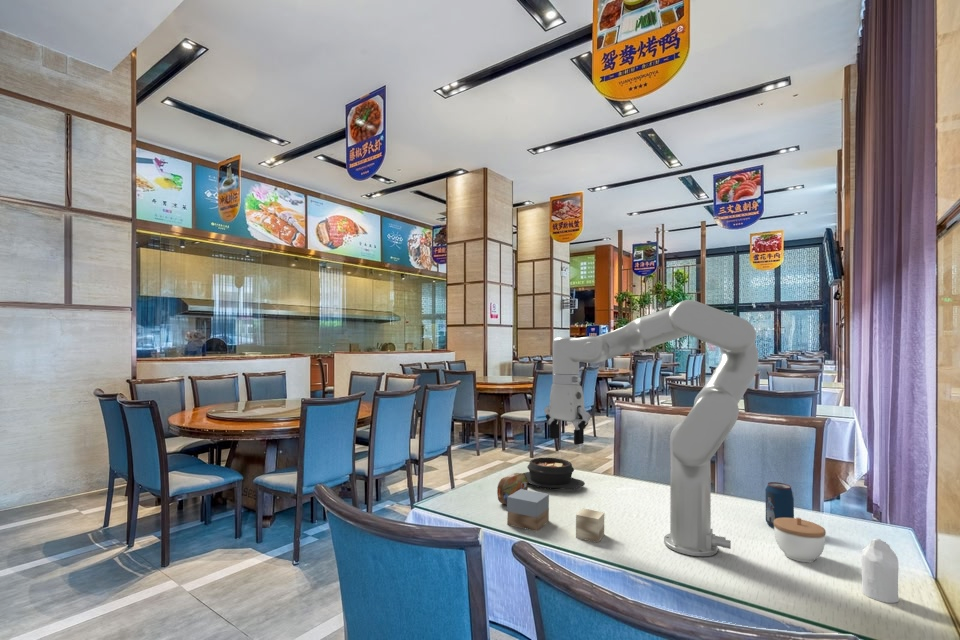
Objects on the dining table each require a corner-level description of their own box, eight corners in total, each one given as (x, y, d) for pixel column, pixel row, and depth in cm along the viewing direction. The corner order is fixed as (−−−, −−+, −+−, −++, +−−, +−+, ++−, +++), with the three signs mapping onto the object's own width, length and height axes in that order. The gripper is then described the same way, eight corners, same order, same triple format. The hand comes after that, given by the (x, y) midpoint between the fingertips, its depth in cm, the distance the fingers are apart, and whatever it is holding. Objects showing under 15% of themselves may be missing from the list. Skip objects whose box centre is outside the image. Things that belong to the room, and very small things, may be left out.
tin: (503, 508, 149) (503, 480, 150) (495, 506, 151) (495, 478, 152) (528, 496, 161) (529, 471, 162) (520, 494, 163) (521, 469, 164)
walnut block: (548, 522, 139) (548, 508, 139) (537, 532, 131) (537, 517, 131) (520, 516, 143) (520, 502, 144) (507, 525, 136) (507, 511, 136)
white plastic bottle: (891, 535, 102) (903, 545, 97) (892, 593, 102) (904, 606, 96) (856, 530, 104) (867, 540, 99) (857, 587, 104) (868, 600, 98)
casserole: (507, 485, 174) (508, 461, 175) (530, 474, 190) (531, 452, 190) (573, 498, 161) (573, 472, 161) (592, 485, 177) (592, 462, 177)
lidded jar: (764, 547, 124) (764, 510, 125) (807, 548, 124) (806, 511, 124) (790, 566, 113) (789, 525, 114) (836, 567, 113) (836, 527, 114)
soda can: (796, 527, 138) (795, 485, 139) (791, 533, 133) (790, 490, 134) (768, 521, 143) (768, 480, 144) (763, 527, 138) (762, 484, 139)
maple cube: (604, 535, 130) (604, 512, 130) (598, 542, 125) (598, 519, 125) (582, 530, 133) (582, 508, 133) (575, 537, 128) (576, 514, 128)
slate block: (548, 508, 139) (548, 494, 139) (536, 517, 131) (536, 502, 132) (520, 502, 144) (520, 488, 144) (507, 511, 136) (507, 496, 136)
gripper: (598, 381, 132) (598, 444, 131) (554, 378, 146) (554, 435, 145) (579, 382, 128) (579, 447, 127) (535, 379, 142) (535, 437, 141)
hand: (566, 441), depth 136 cm, fingers open, 9 cm apart
